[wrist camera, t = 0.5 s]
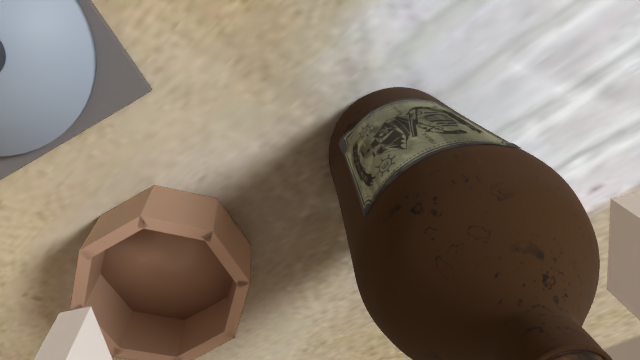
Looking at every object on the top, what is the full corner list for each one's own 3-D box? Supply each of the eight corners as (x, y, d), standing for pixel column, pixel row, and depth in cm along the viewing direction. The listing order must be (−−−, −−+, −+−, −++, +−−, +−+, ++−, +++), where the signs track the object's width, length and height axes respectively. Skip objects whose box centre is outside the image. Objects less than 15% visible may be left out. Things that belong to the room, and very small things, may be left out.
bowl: (63, 236, 39) (36, 274, 34) (193, 162, 38) (184, 190, 33) (153, 341, 43) (140, 387, 38) (272, 277, 42) (274, 316, 37)
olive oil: (483, 183, 41) (779, 472, 18) (352, 239, 41) (473, 590, 18) (439, 51, 37) (748, 201, 14) (295, 115, 37) (358, 364, 14)
